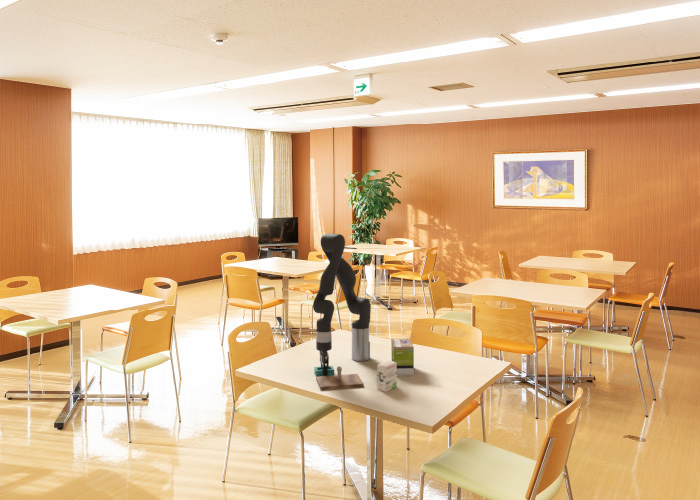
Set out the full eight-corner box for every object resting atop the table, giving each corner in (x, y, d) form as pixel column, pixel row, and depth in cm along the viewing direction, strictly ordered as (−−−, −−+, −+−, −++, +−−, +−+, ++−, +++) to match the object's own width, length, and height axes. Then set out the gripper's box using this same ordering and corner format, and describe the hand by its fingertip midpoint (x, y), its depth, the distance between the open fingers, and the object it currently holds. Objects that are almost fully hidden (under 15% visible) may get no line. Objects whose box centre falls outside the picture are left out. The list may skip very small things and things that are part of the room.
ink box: (388, 384, 253) (388, 359, 252) (397, 387, 250) (397, 362, 248) (376, 389, 247) (376, 364, 246) (385, 392, 243) (385, 366, 242)
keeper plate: (357, 376, 264) (357, 360, 263) (363, 386, 250) (363, 369, 249) (316, 379, 260) (315, 363, 259) (320, 390, 246) (320, 372, 245)
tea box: (390, 366, 280) (391, 338, 278) (410, 366, 280) (410, 337, 278) (393, 376, 265) (393, 346, 263) (414, 375, 265) (414, 346, 263)
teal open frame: (332, 371, 271) (332, 365, 271) (334, 375, 266) (334, 369, 265) (314, 373, 270) (314, 367, 269) (316, 377, 264) (315, 371, 263)
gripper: (334, 343, 260) (334, 377, 261) (329, 335, 274) (329, 368, 275) (318, 344, 258) (318, 378, 260) (314, 336, 272) (314, 369, 274)
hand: (324, 373), depth 267 cm, fingers closed on teal open frame, 6 cm apart
